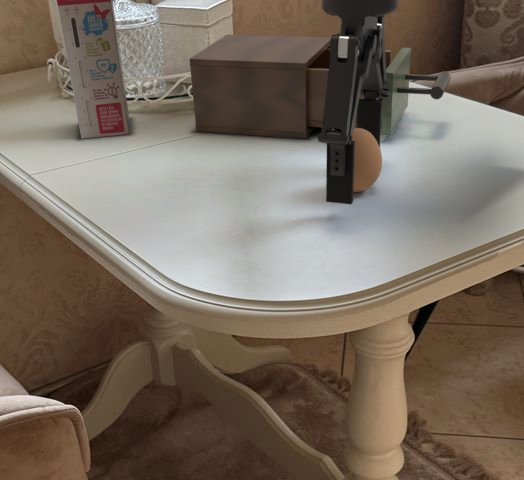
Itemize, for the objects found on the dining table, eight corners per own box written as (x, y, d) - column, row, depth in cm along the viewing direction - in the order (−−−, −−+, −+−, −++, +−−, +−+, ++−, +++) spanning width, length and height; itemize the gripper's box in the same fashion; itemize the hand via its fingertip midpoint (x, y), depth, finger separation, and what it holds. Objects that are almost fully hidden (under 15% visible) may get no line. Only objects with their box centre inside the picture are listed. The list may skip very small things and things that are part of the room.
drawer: (450, 108, 108) (455, 49, 104) (436, 138, 98) (441, 75, 94) (307, 100, 114) (306, 44, 110) (281, 129, 104) (279, 68, 100)
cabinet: (332, 107, 114) (332, 37, 108) (306, 138, 103) (305, 63, 98) (231, 101, 118) (226, 34, 113) (196, 131, 108) (189, 58, 102)
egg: (323, 193, 88) (322, 132, 84) (348, 177, 92) (349, 117, 88) (364, 203, 85) (366, 140, 81) (389, 187, 89) (392, 125, 85)
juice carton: (129, 118, 114) (105, -51, 101) (130, 133, 108) (104, -44, 96) (82, 123, 113) (52, -48, 101) (81, 138, 108) (49, -40, 95)
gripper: (352, -52, 87) (347, 137, 99) (285, -9, 67) (289, 220, 79) (421, -52, 84) (407, 142, 96) (372, -7, 65) (363, 228, 77)
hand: (354, 177), depth 88 cm, fingers open, 13 cm apart
